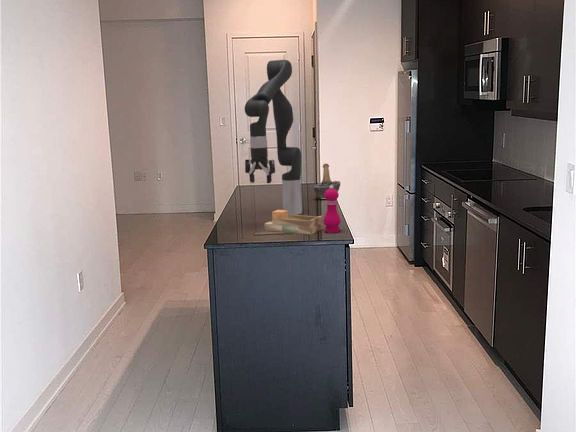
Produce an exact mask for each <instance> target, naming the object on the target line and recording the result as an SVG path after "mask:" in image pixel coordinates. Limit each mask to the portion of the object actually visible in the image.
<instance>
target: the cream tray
mask: <svg viewBox="0 0 576 432" xmlns="http://www.w3.org/2000/svg"><path fill="white" fill-rule="evenodd" d="M263 225H264V231H271V232H279V233H280V232H281V233H282V232H283V233H292V234H302V235H314V234H315V233H318V232H319V230H320V231H323V229H324V218H323V215H319V216H316V215H315V216H314V215H301V214H298V215H288V219H280V218H273V217H272V219H271V221H268V222H265V223H264V224H263ZM317 231H318V232H317Z"/></svg>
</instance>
